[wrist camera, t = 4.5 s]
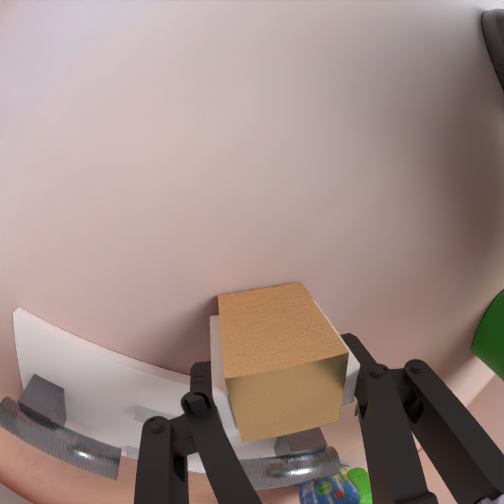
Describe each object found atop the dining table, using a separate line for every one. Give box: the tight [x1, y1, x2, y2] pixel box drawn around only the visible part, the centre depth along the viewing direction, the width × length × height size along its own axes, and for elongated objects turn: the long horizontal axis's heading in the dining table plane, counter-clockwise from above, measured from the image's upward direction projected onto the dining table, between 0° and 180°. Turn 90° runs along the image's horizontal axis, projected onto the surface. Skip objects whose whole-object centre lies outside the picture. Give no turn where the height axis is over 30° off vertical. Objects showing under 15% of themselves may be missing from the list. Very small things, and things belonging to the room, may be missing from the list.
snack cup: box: [298, 464, 373, 504], centre depth 23 cm, size 16×10×10 cm
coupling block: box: [218, 282, 349, 443], centre depth 14 cm, size 5×5×7 cm
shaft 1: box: [0, 374, 122, 480], centre depth 14 cm, size 10×5×6 cm, turn 66°
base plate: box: [13, 307, 277, 473], centre depth 19 cm, size 14×27×2 cm, turn 67°
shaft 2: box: [239, 427, 340, 491], centre depth 18 cm, size 9×5×6 cm, turn 87°
